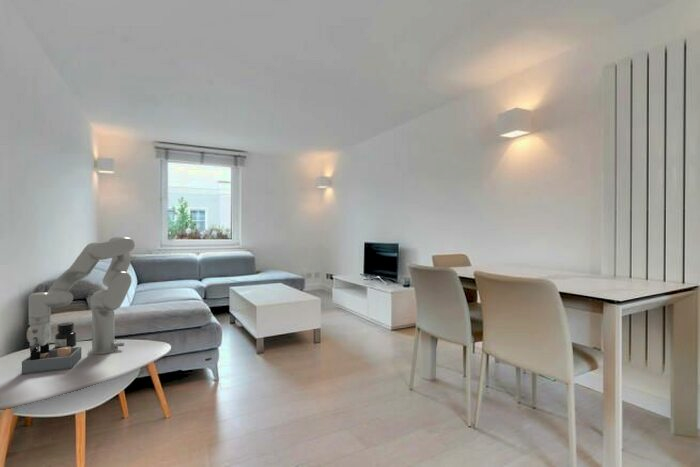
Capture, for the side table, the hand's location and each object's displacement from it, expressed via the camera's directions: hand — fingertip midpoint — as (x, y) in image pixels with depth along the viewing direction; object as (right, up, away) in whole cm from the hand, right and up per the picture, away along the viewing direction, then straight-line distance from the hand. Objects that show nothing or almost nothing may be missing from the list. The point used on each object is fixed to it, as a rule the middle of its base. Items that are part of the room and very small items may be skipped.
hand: (40, 357), depth 160 cm
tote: (+5, -5, +2) cm, 7 cm away
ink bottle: (-12, -5, +29) cm, 32 cm away
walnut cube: (0, -4, 0) cm, 4 cm away
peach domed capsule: (+8, -4, +3) cm, 10 cm away
